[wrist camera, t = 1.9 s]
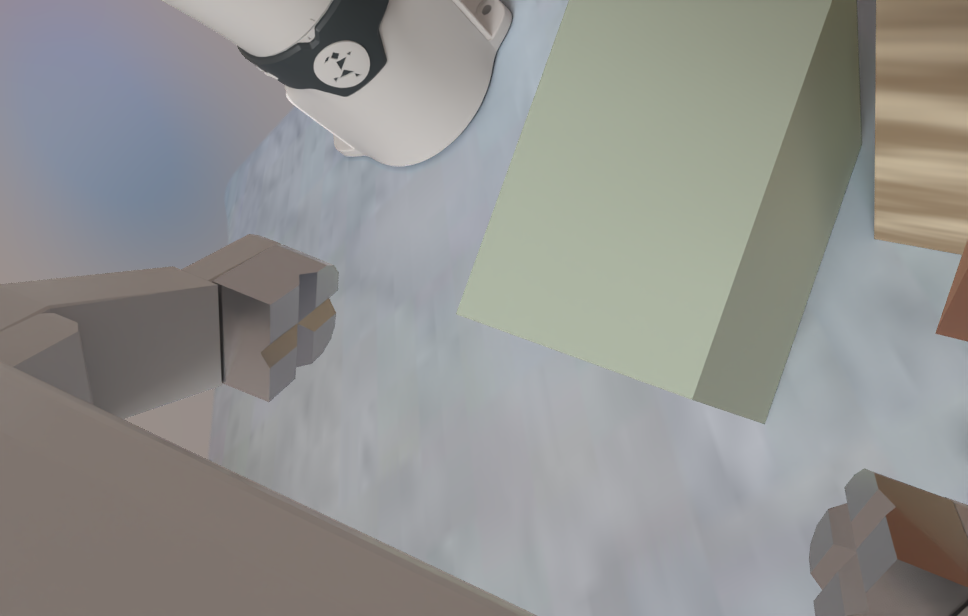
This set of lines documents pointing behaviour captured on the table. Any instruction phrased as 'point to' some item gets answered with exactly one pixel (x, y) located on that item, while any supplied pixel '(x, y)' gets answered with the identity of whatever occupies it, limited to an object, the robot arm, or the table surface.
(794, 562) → the table surface
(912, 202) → the tower
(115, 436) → the robot arm
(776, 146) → the sage green block
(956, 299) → the salmon square-ended bar
